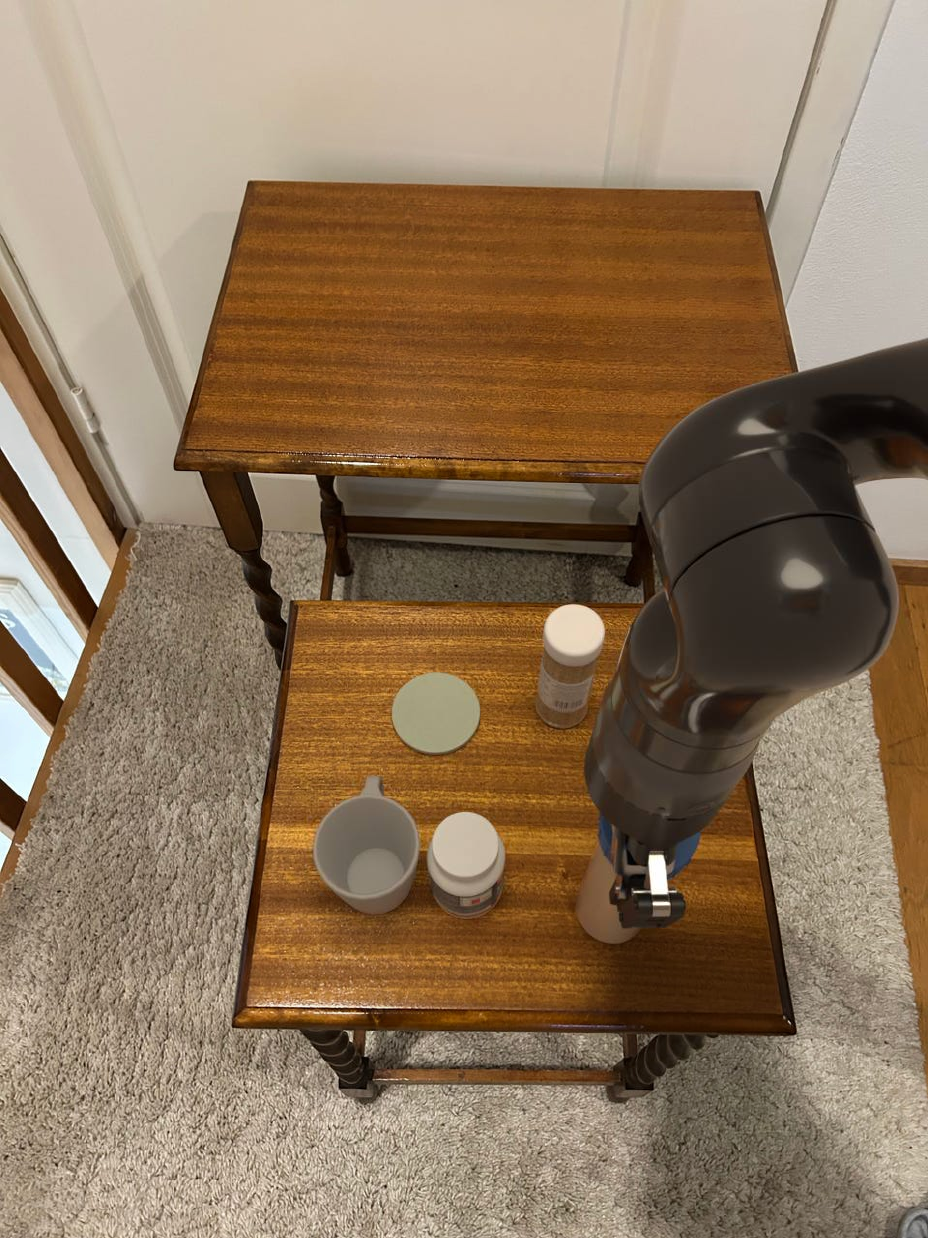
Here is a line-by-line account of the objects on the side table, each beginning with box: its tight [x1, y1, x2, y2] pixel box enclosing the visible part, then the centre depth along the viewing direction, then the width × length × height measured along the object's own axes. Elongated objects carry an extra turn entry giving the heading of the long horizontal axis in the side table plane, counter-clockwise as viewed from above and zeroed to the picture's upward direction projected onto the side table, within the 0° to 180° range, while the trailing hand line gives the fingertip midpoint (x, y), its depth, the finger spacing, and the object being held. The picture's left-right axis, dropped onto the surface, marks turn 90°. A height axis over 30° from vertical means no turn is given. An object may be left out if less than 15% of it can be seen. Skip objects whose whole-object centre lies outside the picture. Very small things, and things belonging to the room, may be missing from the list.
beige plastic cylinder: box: [574, 837, 674, 945], centre depth 65 cm, size 5×5×18 cm
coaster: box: [391, 671, 481, 756], centre depth 80 cm, size 8×8×1 cm
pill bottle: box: [426, 811, 506, 920], centre depth 69 cm, size 6×6×10 cm
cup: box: [312, 775, 421, 916], centre depth 70 cm, size 8×10×8 cm
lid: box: [596, 812, 702, 879], centre depth 57 cm, size 6×6×2 cm
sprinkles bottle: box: [534, 603, 606, 730], centre depth 75 cm, size 5×5×13 cm
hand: (620, 845), depth 60 cm, fingers open, 6 cm apart
